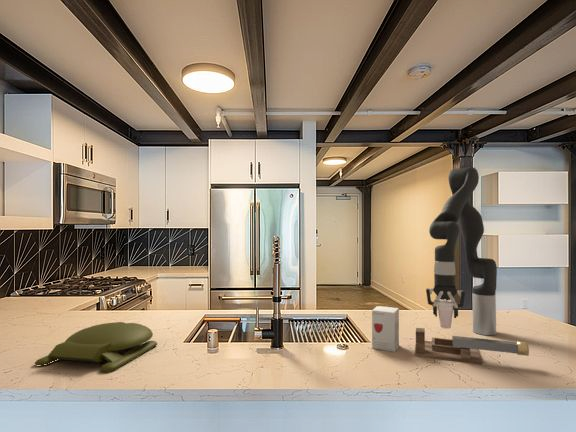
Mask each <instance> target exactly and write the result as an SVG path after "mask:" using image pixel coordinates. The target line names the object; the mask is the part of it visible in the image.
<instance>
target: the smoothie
mask: <svg viewBox="0 0 576 432" xmlns="http://www.w3.org/2000/svg"><path fill="white" fill-rule="evenodd" d="M436 306H437V314H438V320H439V325H440V328H443V329H451V328H452V322H453V315H454V303H452V301H451V300H446V299H444V300H441V299H440V300H439V302H438V303H437V305H436Z"/></svg>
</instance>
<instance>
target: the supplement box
mask: <svg viewBox="0 0 576 432" xmlns="http://www.w3.org/2000/svg"><path fill="white" fill-rule="evenodd" d="M399 346H400V308H399V307H390V306H383V305H382V306H381V305H376V307H374V308H373V309H372V310H371V348H372V349H375V350H376V349H377V350H381V351H387V352H396V351H397V349H398V348H399Z"/></svg>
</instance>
